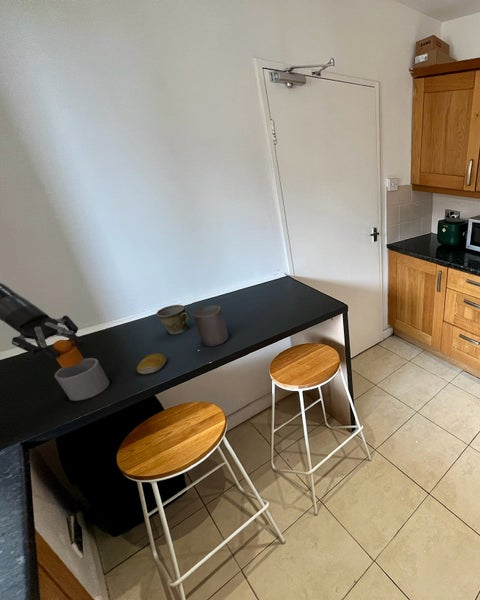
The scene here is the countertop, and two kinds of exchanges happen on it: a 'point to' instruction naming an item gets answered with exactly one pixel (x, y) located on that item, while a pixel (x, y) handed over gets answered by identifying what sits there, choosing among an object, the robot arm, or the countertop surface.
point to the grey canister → (211, 325)
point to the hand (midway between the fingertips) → (70, 350)
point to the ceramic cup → (173, 318)
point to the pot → (82, 379)
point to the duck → (67, 353)
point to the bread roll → (151, 363)
